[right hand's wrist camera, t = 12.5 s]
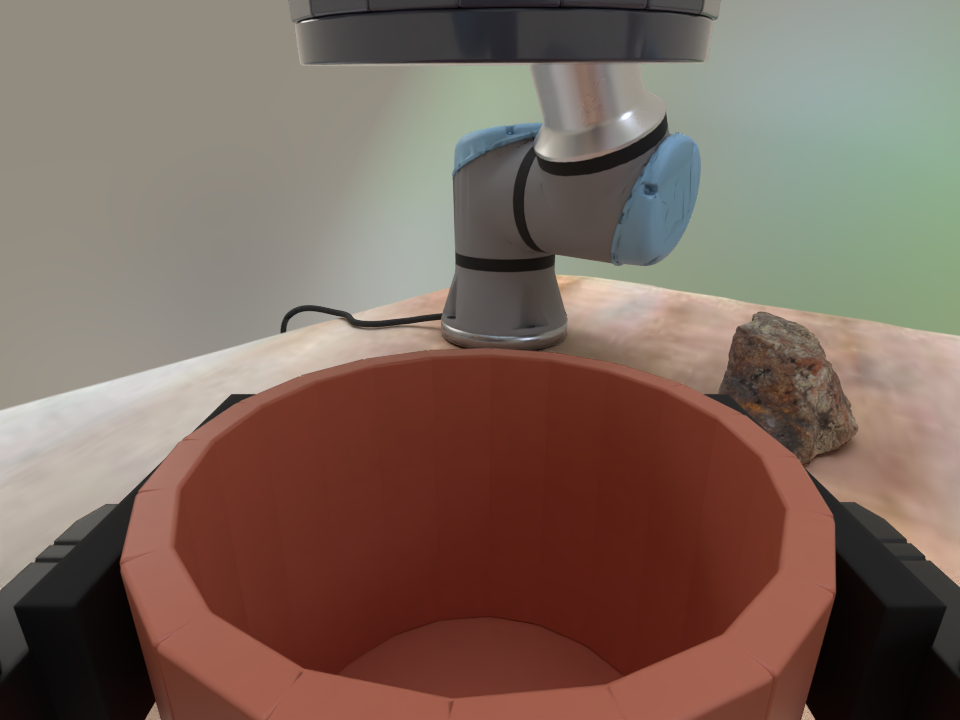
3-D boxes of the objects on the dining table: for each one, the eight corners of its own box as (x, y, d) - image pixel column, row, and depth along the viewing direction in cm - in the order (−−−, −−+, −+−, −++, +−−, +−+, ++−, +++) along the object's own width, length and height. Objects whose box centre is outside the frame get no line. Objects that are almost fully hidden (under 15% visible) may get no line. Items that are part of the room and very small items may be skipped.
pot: (758, 721, 14) (833, 402, 11) (656, 1525, 6) (848, 1139, 3) (425, 576, 18) (415, 325, 16) (113, 905, 10) (-34, 513, 7)
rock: (677, 439, 45) (810, 492, 38) (685, 339, 42) (833, 377, 35) (761, 381, 53) (883, 415, 46) (774, 294, 50) (907, 317, 43)
